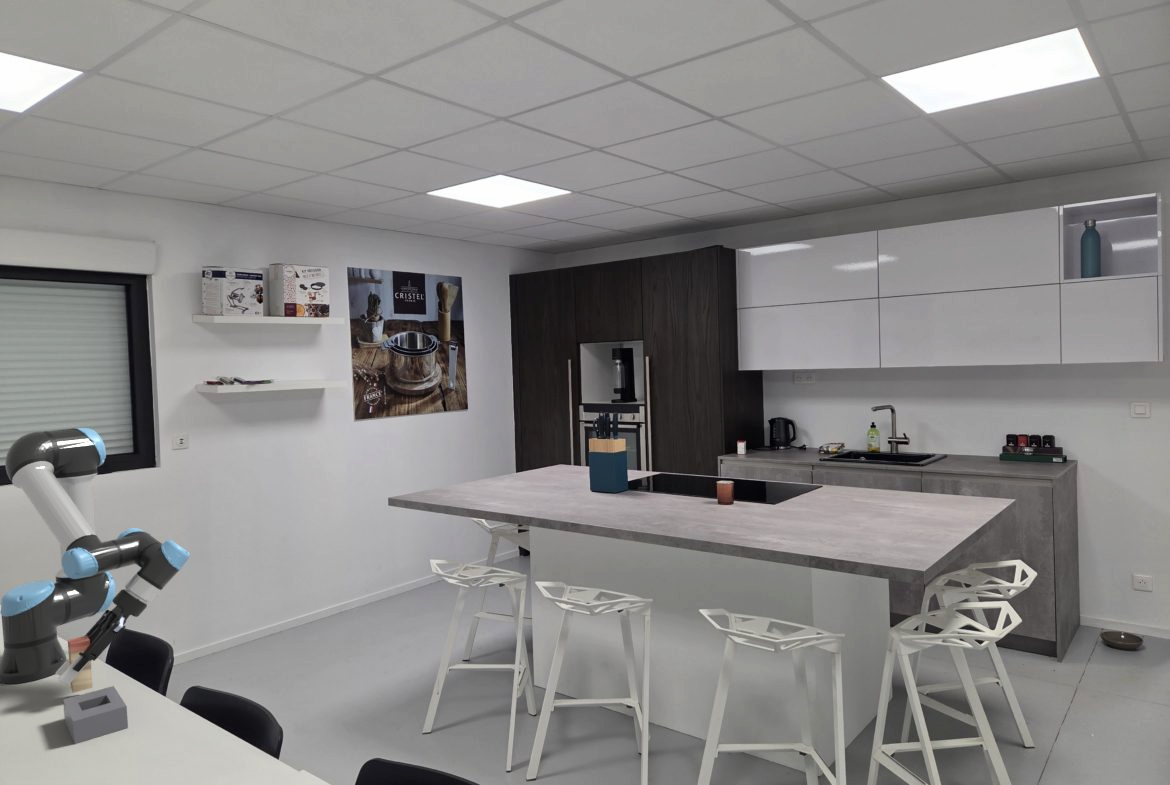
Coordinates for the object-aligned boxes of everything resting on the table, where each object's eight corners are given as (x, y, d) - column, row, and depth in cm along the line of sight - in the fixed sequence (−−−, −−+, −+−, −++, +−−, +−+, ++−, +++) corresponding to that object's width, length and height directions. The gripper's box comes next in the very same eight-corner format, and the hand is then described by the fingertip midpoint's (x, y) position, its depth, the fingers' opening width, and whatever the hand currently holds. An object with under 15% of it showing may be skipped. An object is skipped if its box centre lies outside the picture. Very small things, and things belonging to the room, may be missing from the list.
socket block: (64, 720, 174) (63, 699, 174) (114, 706, 181) (113, 685, 180) (74, 744, 163) (73, 721, 163) (128, 727, 169) (126, 706, 169)
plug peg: (70, 687, 186) (67, 639, 186) (89, 682, 189) (86, 635, 188) (73, 692, 183) (70, 644, 183) (92, 687, 186) (89, 639, 185)
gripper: (156, 611, 189) (81, 697, 179) (140, 596, 202) (70, 675, 192) (130, 595, 185) (52, 682, 175) (116, 581, 198) (43, 660, 188)
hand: (62, 678), depth 183 cm, fingers closed on plug peg, 4 cm apart
